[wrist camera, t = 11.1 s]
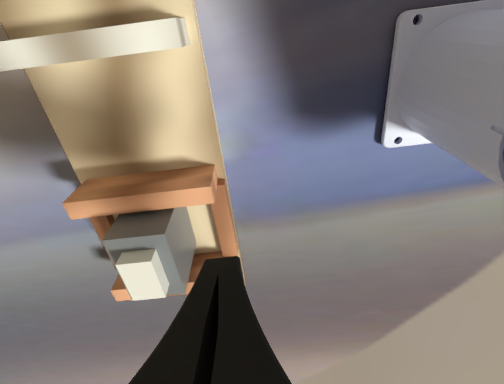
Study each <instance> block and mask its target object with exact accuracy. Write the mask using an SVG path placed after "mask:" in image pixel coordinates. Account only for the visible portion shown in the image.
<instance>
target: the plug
mask: <svg viewBox="0 0 504 384" xmlns="http://www.w3.org/2000/svg"><path fill="white" fill-rule="evenodd" d="M102 242H103V244H104V246H105V248H106V250H107V252H108V254H109V256H110V258H111V260H112V262H113V264H114V266H115V268H116V270H117V272H118V274H119V276H120V278H121V279H122V281H123V283H124V285H125V287H126V289H127V291H128V293H129V295H130V297H131V299H133V301H134V300H144V299H155V298H165V297H166V295H175V294H185V293H186V289H187V284H188V279H189V275H190V270H191V265H192V260H193V256H194V251H195V246H196V239H195V235H194V232H193V228H192V225H191V221H190V218H189V214H188V210H187V207H178V208H169V209H160V210H151V211H142V212H133V213H124V214H119V215H118V217H117V218H116V220H115V221H114V223H113V224H112V226H111V227H110V229H109V230H108V232H107V234H106V235H105V237H104V238H103V240H102Z"/></svg>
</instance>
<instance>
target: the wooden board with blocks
mask: <svg viewBox="0 0 504 384" xmlns="http://www.w3.org/2000/svg"><path fill="white" fill-rule="evenodd" d="M0 22H1V24H2V26H3V28H4V30H5V32H6V34H7V36H8V38H9V40H8V41H0V72H1V71H8V70H16V69H23V68H24V70H25V72H26V74H27V76H28V78H29V80H30V82H31V84H32V86H33V88H34V90H35V92H36V94H37V96H38V98H39V100H40V102H41V104H42V107H43V109H44V111H45V113H46V115H47V117H48V119H49V121H50V123H51V125H52V127H53V129H54V131H55V133H56V135H57V137H58V139H59V141H60V143H61V145H62V147H63V149H64V151H65V153H66V155H67V157H68V159H69V161H70V163H71V165H72V167H73V169H74V171H75V173H76V175H77V177H78V179H79V181H80V183H81V185H80V186H79V187H78V188H77V189H76V190H75V191H74V192H73V193H72V194H71V195H70V196H69V197H68V198H67V199H66V200H65V201H64V202H63V203H62V204H63V206H64V208H65V210H66V211H67V213H68V215H69V217H70V218H71V219H80V218H90V220H91V222H92V224H93V226H94V228H95V230H96V232H97V234H98V236H99V238H100V240H101V242H102V240H103V238H104V237H105V235H106V234H107V232H108V230H109V229H110V227H111V226H112V224H113V223H114V221H115V220H116V218H117V217H118V215H119V214H124V213H133V212H142V211H151V210H160V209H169V208H178V207H187V210H188V214H189V218H190V221H191V225H192V228H193V232H194V235H195V239H196V246H195V251H194V256H193V260H192V265H191V270H190V275H189V279H188V284H187V289H186V293H185V294H189V292H190V290H191V288H192V286H193V284H194V282H195V280H196V278H197V276H198V274H199V272H200V270H201V267H202V265H203V263H204V261H205V260H206V259H213V258H222V257H231V256H238V257H239V258H240V261H241V267H242V272H243V277H244V283H245V274H244V269H243V264H242V258H241V253H240V247H239V242H238V236H237V231H236V225H235V220H234V215H233V209H232V204H231V198H230V193H229V187H228V182H227V176H226V171H225V166H224V160H223V155H222V149H221V144H220V138H219V133H218V127H217V122H216V116H215V111H214V106H213V100H212V95H211V89H210V84H209V78H208V73H207V67H206V62H205V57H204V51H203V46H202V40H201V35H200V29H199V24H198V18H197V13H196V8H195V2H194V0H0ZM102 244H103V242H102ZM103 245H104V244H103ZM104 247H105V246H104ZM105 249H106V248H105ZM106 251H107V250H106ZM107 253H108V252H107ZM108 255H109V254H108ZM109 257H110V256H109ZM110 259H111V258H110ZM111 261H112V260H111ZM112 263H113V262H112ZM113 265H114V264H113ZM114 267H115V266H114ZM115 269H116V268H115ZM111 292H112V294H113V296H114V297H115V299H116V301H123V300H133V299H131V297H130V295H129V293H128V291H127V289H126V287H125V285H124V283H123V281H122V279H121V278H120V276H119V275H118V277H117V279H116V281H115V283H114V285H113V287H112V289H111ZM175 295H182V294H175ZM166 296H173V295H166Z"/></svg>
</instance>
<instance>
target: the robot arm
mask: <svg viewBox="0 0 504 384" xmlns="http://www.w3.org/2000/svg"><path fill="white" fill-rule="evenodd" d="M416 15H418V16H419V20H418V22H417V23H416V24H415V25H414V24H413V19H414V17H415V16H416ZM397 137H399V140H398V141H397V142H394V140H395V139H396V138H397ZM381 143H382V145H383V146H384V147H386V148H394V147H402V146H411V145H419V144H428V143H434V144H435V145H437V146H438V147H440V148H441V149H443V150H445V151H446V152H448V153H449V154H451V155H453V156H454V157H456V158H457V159H459V160H460V161H462V162H464V163H465V164H467V165H468V166H470V167H472V168H473V169H475V170H476V171H478V172H479V173H481V174H483V175H484V176H486V177H487V178H489V179H491V180H492V181H494V182H495V183H497V184H498V185H500V186H502V187H503V188H504V0H482V1H474V2H467V3H459V4H452V5H444V6H437V7H429V8H422V9H414V10H407V11H404V12H402V13H401V14H400V15H399V17H398V18H397V22H396V29H395V36H394V44H393V52H392V60H391V68H390V75H389V83H388V91H387V99H386V106H385V114H384V122H383V130H382V138H381ZM129 384H292V383H291V382H290V380H289V378H288V377H287V375H286V373H285V372H284V370H283V368H282V367H281V365H280V363H279V362H278V360H277V358H276V356H275V354H274V352H273V351H272V349H271V347H270V345H269V343H268V341H267V339H266V337H265V335H264V333H263V331H262V329H261V327H260V324H259V322H258V320H257V318H256V315H255V313H254V311H253V308H252V306H251V303H250V300H249V298H248V295H247V292H246V288H245V283H244V277H243V272H242V267H241V261H240V258H239V257H238V256H231V257H222V258H213V259H206V260H205V261H204V263H203V265H202V267H201V270H200V272H199V274H198V276H197V278H196V280H195V282H194V284H193V286H192V288H191V290H190V292H189V294H188V296H187V298H186V300H185V302H184V303H183V305H182V307H181V309H180V310H179V312H178V314H177V315H176V317H175V319H174V320H173V322H172V324H171V325H170V327H169V329H168V330H167V332H166V333H165V335H164V336H163V338H162V339H161V341H160V342H159V344H158V345H157V347H156V348H155V349H154V351H153V352H152V354H151V355H150V356H149V358H148V359H147V360H146V362H145V363H144V364H143V366H142V367H141V368H140V370H139V371H138V372H137V373H136V375H135V376H134V377H133V379H132V380H131V381H130V382H129Z"/></svg>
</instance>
